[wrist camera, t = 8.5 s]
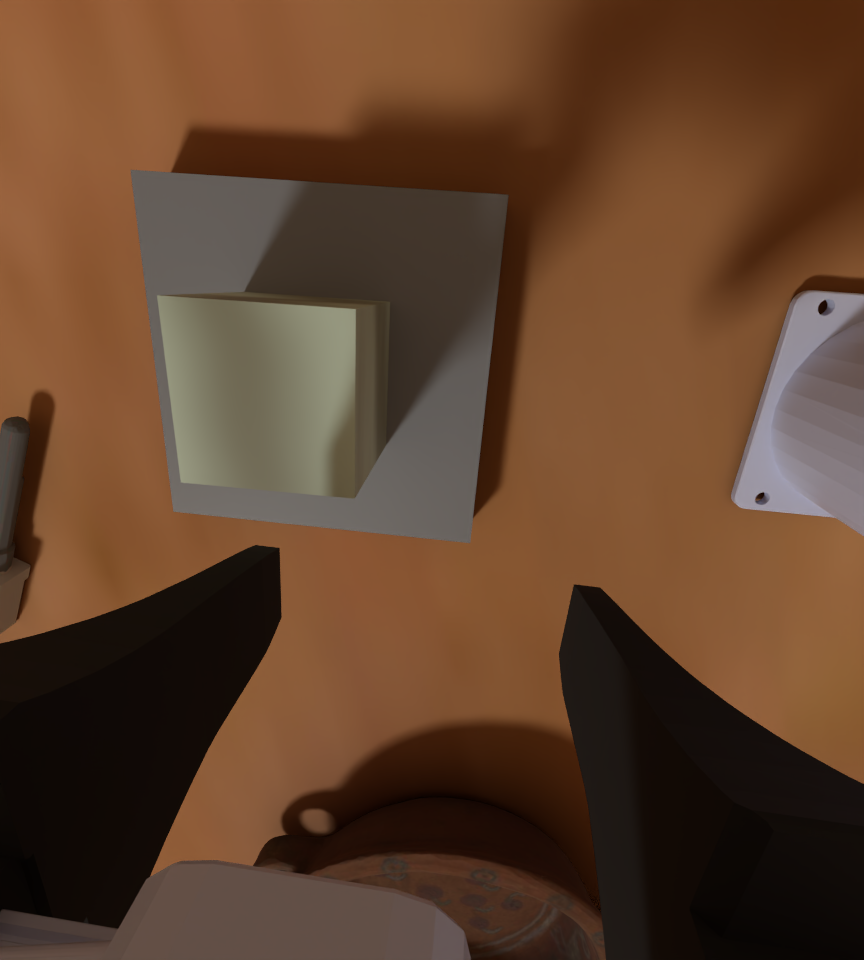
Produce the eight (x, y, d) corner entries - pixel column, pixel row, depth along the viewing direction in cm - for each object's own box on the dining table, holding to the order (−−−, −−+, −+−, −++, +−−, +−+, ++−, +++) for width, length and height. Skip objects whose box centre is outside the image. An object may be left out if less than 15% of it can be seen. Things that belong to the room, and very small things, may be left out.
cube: (390, 301, 17) (355, 309, 12) (386, 445, 19) (354, 498, 14) (244, 291, 17) (157, 295, 13) (254, 433, 19) (181, 482, 15)
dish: (290, 714, 27) (251, 803, 22) (692, 821, 27) (735, 932, 23) (253, 907, 34) (216, 1008, 29) (577, 993, 34) (592, 1107, 29)
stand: (505, 204, 17) (508, 194, 16) (471, 520, 22) (469, 543, 20) (166, 181, 18) (130, 170, 16) (198, 492, 23) (173, 511, 21)
